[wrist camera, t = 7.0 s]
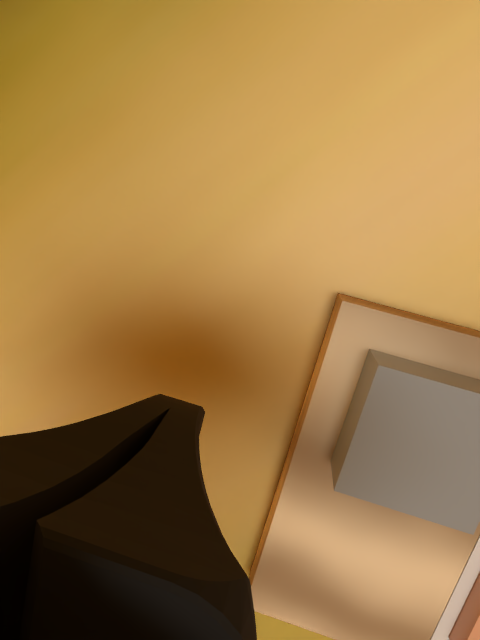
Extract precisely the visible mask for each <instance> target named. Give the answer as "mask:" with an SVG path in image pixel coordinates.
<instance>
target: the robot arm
mask: <svg viewBox="0 0 480 640" xmlns="http://www.w3.org/2000/svg"><path fill="white" fill-rule="evenodd" d="M204 414H205V411H204V409H203V407H201V406H198V405H195V404H191V403H188V402H185V401H182V400H178V399H175V398H172V397H169V396H165V395H162V394H159V395H155V396H152V397H150V398H147V399H144V400H142V401H139V402H136V403H134V404H131V405H129V406H126V407H123V408H120V409H118V410H115V411H112V412H109V413H106V414H103V415H100V416H97V417H93V418H90V419H87V420H84V421H81V422H77V423H73V424H70V425H66V426H61V427H57V428H52V429H47V430H42V431H37V432H32V433H24V434H17V435H9V436H2V437H0V640H257V635H256V623H255V614H254V605H253V598H252V591H251V584H250V580H249V578H248V576H247V575H246V573H245V572H244V570H243V569H242V567H241V566H240V564H239V563H238V561H237V560H236V558H235V557H234V555H233V553H232V552H231V550H230V549H229V547H228V545H227V543H226V541H225V539H224V537H223V535H222V533H221V531H220V528H219V526H218V523H217V521H216V518H215V516H214V513H213V511H212V508H211V506H210V503H209V499H208V496H207V493H206V489H205V485H204V481H203V476H202V470H201V463H200V454H199V434H200V430H201V426H202V422H203V418H204Z"/></svg>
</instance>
